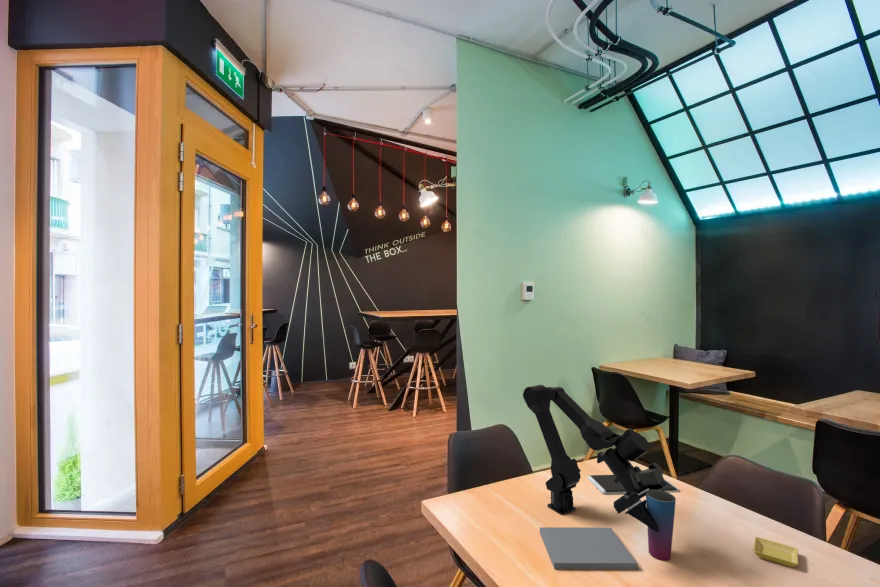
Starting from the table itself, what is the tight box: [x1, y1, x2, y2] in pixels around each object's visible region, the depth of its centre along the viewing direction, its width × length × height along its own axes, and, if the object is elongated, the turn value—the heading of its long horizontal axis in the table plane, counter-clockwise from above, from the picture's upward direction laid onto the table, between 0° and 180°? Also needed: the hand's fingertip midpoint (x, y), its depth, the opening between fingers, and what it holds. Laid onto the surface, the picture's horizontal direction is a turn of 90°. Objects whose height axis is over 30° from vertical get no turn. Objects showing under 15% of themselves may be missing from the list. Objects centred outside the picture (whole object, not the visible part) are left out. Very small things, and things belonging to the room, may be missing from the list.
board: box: [539, 526, 638, 570], centre depth 109 cm, size 20×16×2 cm
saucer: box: [753, 536, 799, 568], centre depth 106 cm, size 9×9×2 cm
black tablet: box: [587, 474, 680, 496], centre depth 148 cm, size 13×27×2 cm, turn 93°
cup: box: [645, 490, 677, 561], centre depth 107 cm, size 7×7×15 cm
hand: (664, 527), depth 106 cm, fingers closed on cup, 6 cm apart
